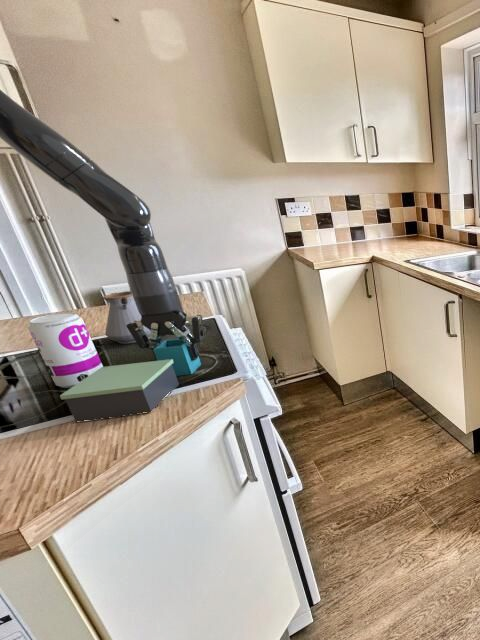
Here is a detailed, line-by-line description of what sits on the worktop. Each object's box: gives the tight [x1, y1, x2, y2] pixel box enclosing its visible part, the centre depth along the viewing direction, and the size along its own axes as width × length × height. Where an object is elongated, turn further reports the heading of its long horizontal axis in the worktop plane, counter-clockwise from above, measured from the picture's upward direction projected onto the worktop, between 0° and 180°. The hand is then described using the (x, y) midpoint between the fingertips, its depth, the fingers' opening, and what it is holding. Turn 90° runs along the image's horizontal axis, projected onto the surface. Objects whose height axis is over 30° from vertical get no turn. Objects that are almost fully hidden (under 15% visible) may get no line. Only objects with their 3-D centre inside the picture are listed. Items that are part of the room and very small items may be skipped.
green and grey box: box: [59, 359, 180, 423], centre depth 84 cm, size 13×13×6 cm
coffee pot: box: [101, 291, 151, 345], centre depth 113 cm, size 21×12×15 cm, turn 46°
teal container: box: [152, 338, 202, 377], centre depth 97 cm, size 6×6×7 cm
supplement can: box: [28, 311, 104, 389], centre depth 92 cm, size 8×8×15 cm
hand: (179, 360), depth 97 cm, fingers closed on teal container, 5 cm apart
